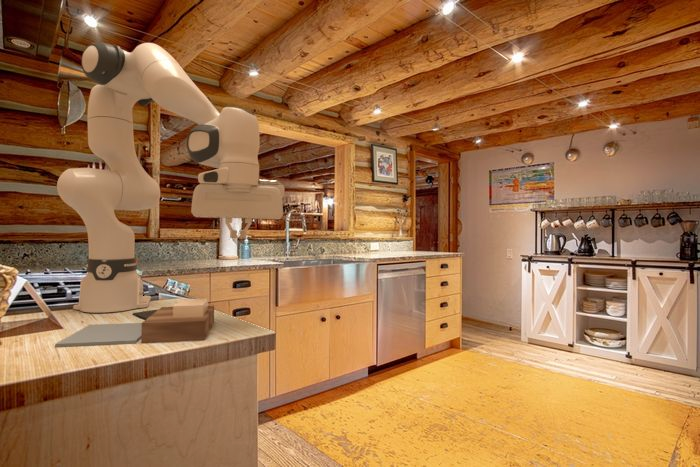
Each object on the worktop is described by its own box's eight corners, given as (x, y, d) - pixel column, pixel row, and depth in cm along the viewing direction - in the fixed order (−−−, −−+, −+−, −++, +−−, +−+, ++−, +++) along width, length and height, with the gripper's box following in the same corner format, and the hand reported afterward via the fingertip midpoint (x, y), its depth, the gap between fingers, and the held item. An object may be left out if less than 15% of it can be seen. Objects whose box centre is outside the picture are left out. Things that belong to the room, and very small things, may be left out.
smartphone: (159, 309, 106) (184, 316, 96) (159, 312, 106) (184, 320, 96) (130, 313, 101) (153, 321, 91) (130, 316, 101) (153, 325, 91)
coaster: (180, 309, 89) (180, 299, 89) (207, 309, 90) (207, 298, 90) (173, 317, 81) (173, 306, 81) (202, 316, 82) (203, 305, 82)
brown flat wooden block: (161, 323, 91) (161, 307, 91) (213, 321, 94) (214, 305, 94) (141, 343, 76) (141, 323, 76) (204, 340, 79) (205, 320, 78)
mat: (89, 327, 87) (89, 324, 87) (155, 324, 90) (155, 322, 90) (55, 347, 72) (55, 344, 72) (135, 343, 76) (135, 340, 76)
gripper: (283, 182, 93) (282, 238, 93) (195, 178, 88) (194, 237, 88) (285, 178, 87) (284, 239, 87) (190, 174, 82) (189, 237, 82)
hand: (238, 238), depth 88 cm, fingers closed
